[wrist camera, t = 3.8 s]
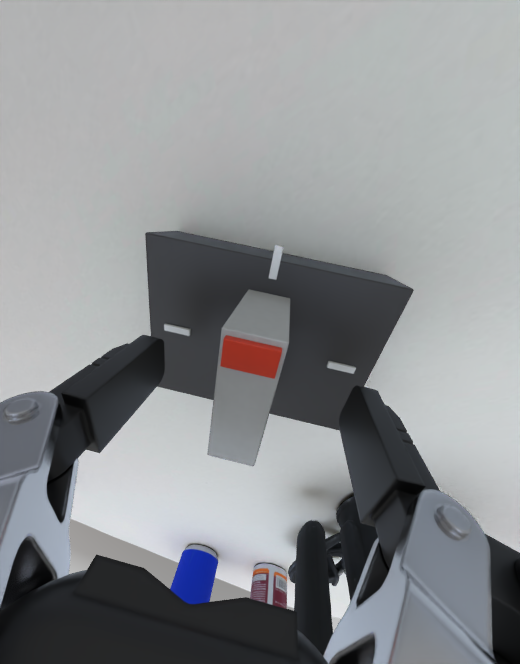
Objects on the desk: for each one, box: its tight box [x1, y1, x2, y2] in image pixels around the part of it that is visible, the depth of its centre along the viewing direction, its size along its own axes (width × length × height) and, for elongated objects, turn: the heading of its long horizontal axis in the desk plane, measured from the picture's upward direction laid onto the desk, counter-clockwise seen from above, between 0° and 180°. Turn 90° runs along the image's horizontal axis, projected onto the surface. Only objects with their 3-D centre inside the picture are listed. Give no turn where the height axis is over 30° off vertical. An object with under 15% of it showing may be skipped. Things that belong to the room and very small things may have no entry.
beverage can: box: [170, 544, 218, 604], centre depth 24 cm, size 5×5×15 cm
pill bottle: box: [250, 563, 287, 609], centre depth 27 cm, size 5×5×8 cm
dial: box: [208, 289, 290, 466], centre depth 9 cm, size 6×2×4 cm, turn 170°
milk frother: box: [288, 496, 378, 656], centre depth 17 cm, size 14×16×15 cm
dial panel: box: [145, 231, 413, 430], centre depth 13 cm, size 12×10×3 cm
